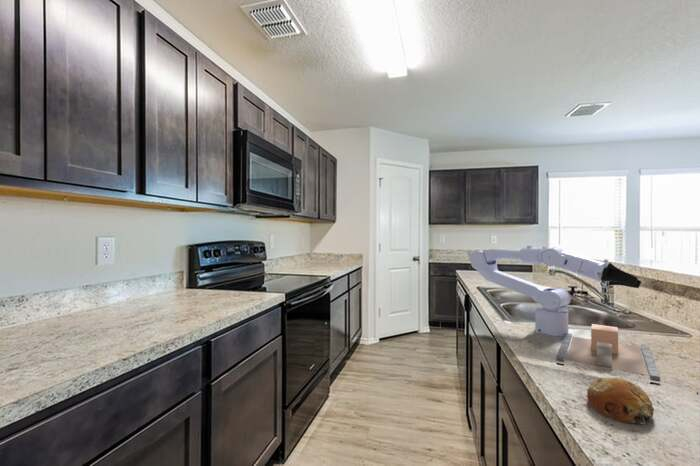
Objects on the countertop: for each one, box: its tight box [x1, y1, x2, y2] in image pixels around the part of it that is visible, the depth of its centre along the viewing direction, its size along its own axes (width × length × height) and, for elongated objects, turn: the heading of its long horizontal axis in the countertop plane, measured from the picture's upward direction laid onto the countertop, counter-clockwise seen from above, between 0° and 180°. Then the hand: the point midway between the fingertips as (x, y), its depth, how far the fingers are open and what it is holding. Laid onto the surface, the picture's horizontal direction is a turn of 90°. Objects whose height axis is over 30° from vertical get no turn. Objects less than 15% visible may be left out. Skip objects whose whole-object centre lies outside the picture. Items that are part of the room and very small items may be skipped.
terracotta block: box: [590, 323, 619, 354], centre depth 95 cm, size 6×6×6 cm
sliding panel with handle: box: [565, 336, 648, 376], centre depth 92 cm, size 16×24×6 cm, turn 142°
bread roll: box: [586, 376, 655, 425], centre depth 65 cm, size 10×10×8 cm
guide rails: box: [555, 332, 661, 386], centre depth 91 cm, size 20×26×2 cm
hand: (638, 283), depth 94 cm, fingers open, 7 cm apart
